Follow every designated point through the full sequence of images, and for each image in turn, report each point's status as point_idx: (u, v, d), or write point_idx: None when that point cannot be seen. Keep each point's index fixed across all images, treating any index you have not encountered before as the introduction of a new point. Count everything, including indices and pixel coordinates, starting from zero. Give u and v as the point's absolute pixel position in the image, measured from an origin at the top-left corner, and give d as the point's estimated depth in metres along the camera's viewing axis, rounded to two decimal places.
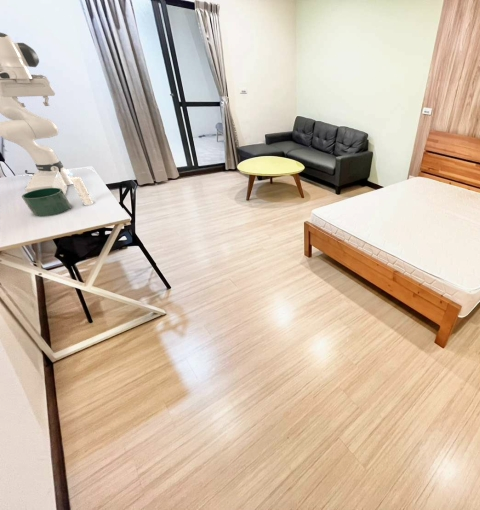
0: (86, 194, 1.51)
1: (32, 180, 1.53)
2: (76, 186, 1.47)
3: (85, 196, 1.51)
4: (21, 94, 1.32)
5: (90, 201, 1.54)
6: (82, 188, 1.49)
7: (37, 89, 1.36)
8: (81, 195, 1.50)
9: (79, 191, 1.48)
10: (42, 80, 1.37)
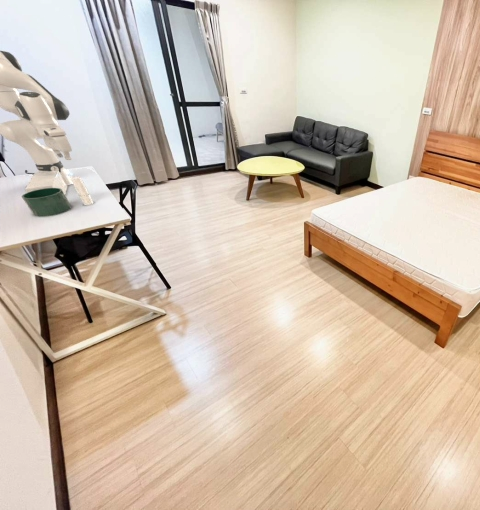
0: (86, 194, 1.51)
1: (32, 180, 1.53)
2: (76, 186, 1.47)
3: (85, 196, 1.51)
4: None
5: (90, 201, 1.54)
6: (82, 188, 1.49)
7: None
8: (81, 195, 1.50)
9: (79, 191, 1.48)
10: None
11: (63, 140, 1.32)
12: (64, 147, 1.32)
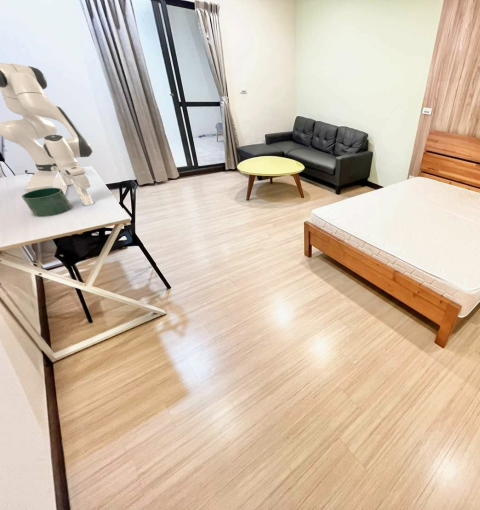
0: (86, 194, 1.51)
1: (32, 180, 1.53)
2: (76, 186, 1.47)
3: (85, 196, 1.51)
4: None
5: (90, 201, 1.54)
6: None
7: None
8: (81, 195, 1.50)
9: (79, 191, 1.48)
10: None
11: (83, 178, 1.42)
12: (84, 184, 1.43)
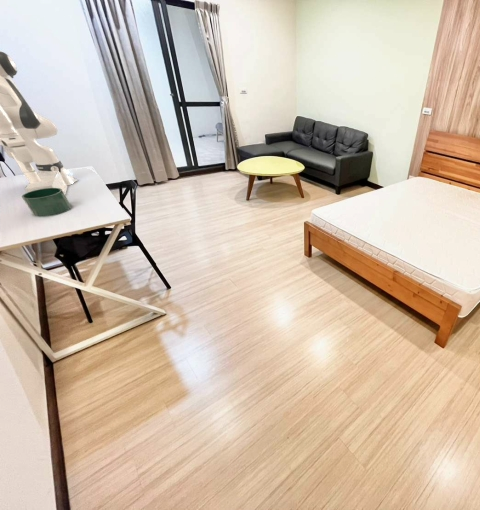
0: (31, 171, 1.33)
1: None
2: (18, 161, 1.29)
3: (30, 173, 1.33)
4: None
5: (37, 179, 1.36)
6: None
7: None
8: (25, 171, 1.32)
9: (22, 167, 1.31)
10: None
11: (23, 150, 1.24)
12: (25, 158, 1.25)
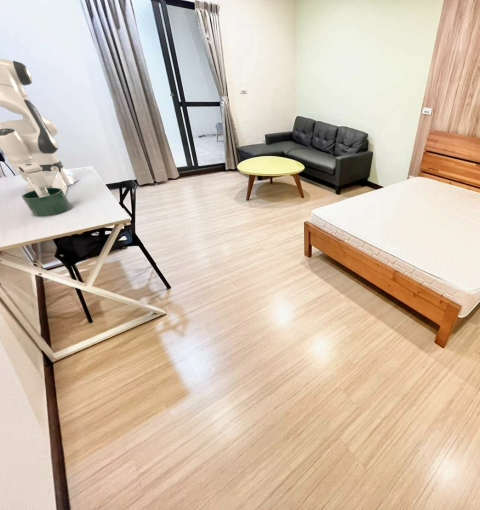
0: (45, 193, 1.40)
1: None
2: (33, 184, 1.36)
3: (44, 195, 1.40)
4: None
5: None
6: None
7: None
8: (39, 194, 1.39)
9: (37, 190, 1.38)
10: None
11: (39, 175, 1.31)
12: (40, 182, 1.32)
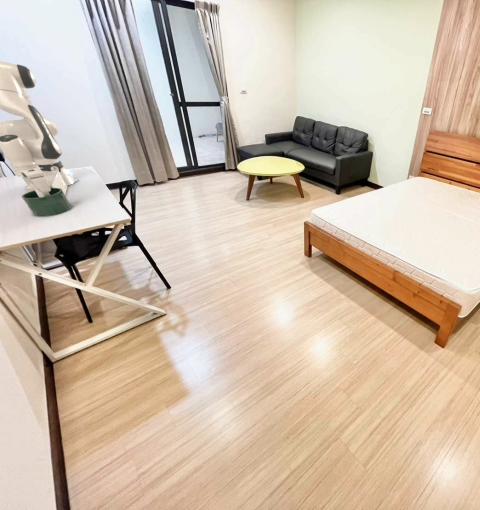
0: None
1: None
2: (37, 191, 1.38)
3: None
4: None
5: None
6: None
7: None
8: None
9: (41, 196, 1.40)
10: None
11: (42, 181, 1.33)
12: (43, 188, 1.33)
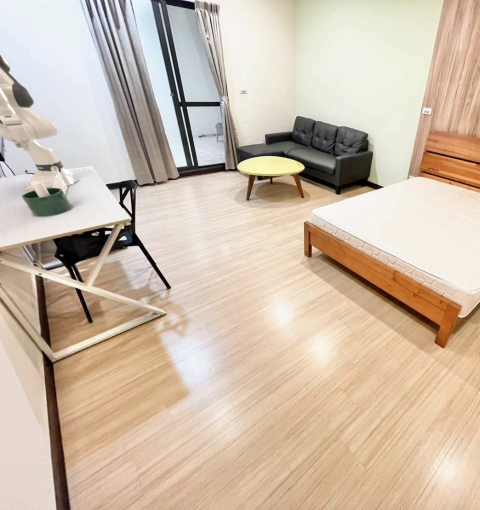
0: None
1: (32, 180, 1.53)
2: (37, 191, 1.38)
3: None
4: None
5: None
6: (44, 193, 1.40)
7: None
8: None
9: (41, 196, 1.40)
10: None
11: (19, 129, 1.22)
12: (21, 137, 1.23)
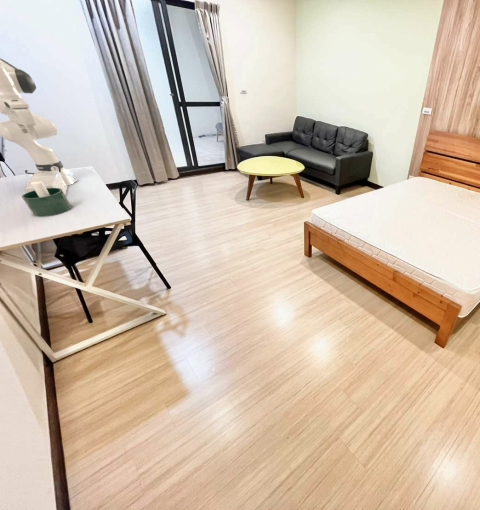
0: None
1: (32, 180, 1.53)
2: (37, 191, 1.38)
3: None
4: None
5: None
6: (44, 193, 1.40)
7: None
8: None
9: (41, 196, 1.40)
10: None
11: (26, 113, 1.24)
12: (27, 121, 1.25)
